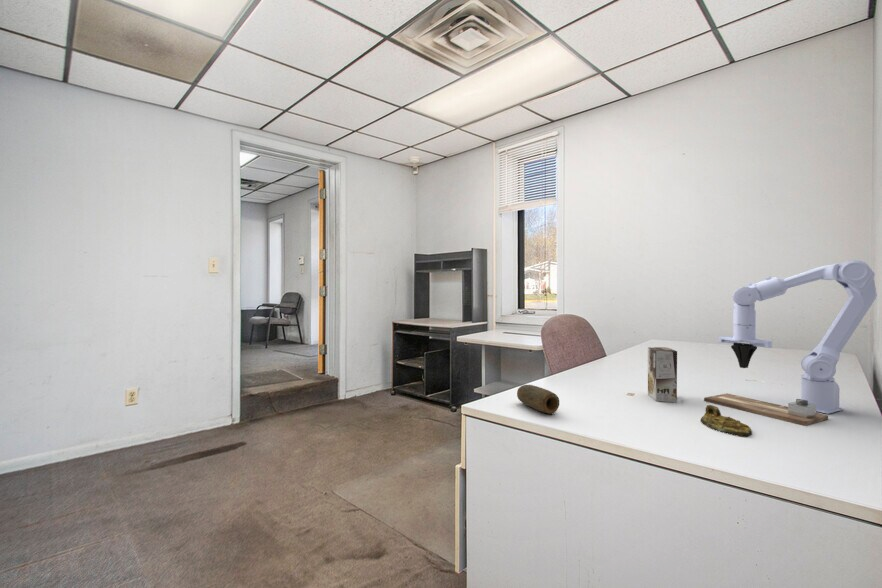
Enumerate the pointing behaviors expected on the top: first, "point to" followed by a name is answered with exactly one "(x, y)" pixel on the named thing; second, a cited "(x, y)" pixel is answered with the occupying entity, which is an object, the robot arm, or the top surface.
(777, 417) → the counting board
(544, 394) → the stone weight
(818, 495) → the top surface
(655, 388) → the coffee box
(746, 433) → the seal
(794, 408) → the knob
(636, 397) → the top surface
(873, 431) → the top surface
